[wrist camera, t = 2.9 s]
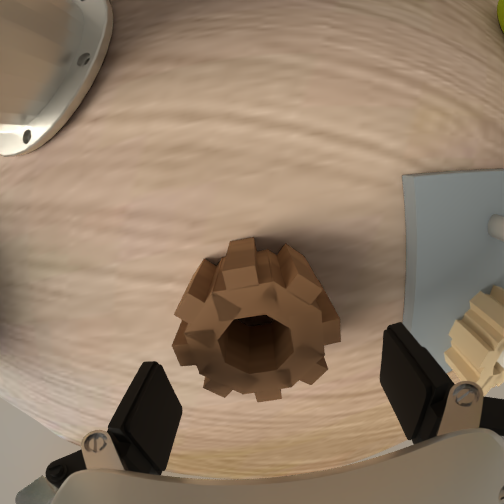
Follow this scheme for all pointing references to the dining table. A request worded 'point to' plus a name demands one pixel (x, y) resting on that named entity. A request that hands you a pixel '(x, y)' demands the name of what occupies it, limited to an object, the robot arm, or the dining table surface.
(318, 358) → the walnut gear
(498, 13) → the tennis ball
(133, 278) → the dining table surface
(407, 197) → the gear board
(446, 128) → the dining table surface
